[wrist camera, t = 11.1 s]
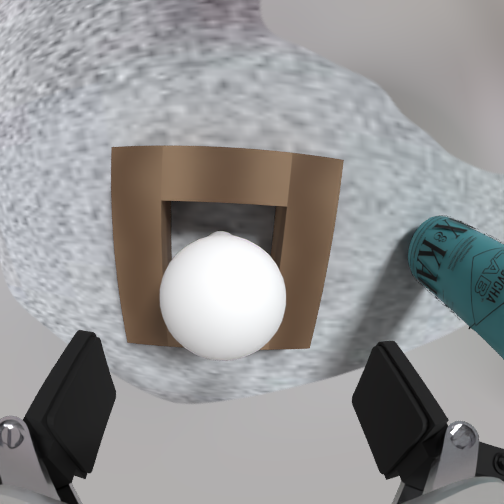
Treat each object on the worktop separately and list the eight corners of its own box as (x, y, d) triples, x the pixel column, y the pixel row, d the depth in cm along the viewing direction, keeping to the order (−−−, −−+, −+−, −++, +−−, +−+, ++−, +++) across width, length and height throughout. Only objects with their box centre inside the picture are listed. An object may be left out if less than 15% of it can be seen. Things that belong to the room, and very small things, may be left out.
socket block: (324, 157, 20) (343, 160, 16) (299, 323, 24) (309, 348, 21) (129, 146, 18) (111, 147, 15) (138, 317, 23) (127, 342, 20)
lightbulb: (250, 287, 23) (275, 392, 13) (173, 273, 22) (145, 375, 11) (270, 213, 21) (321, 281, 11) (187, 195, 20) (155, 249, 9)
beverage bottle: (456, 226, 23) (615, 328, 4) (426, 284, 25) (561, 418, 6) (417, 195, 21) (623, 304, 3) (383, 262, 23) (548, 432, 5)
